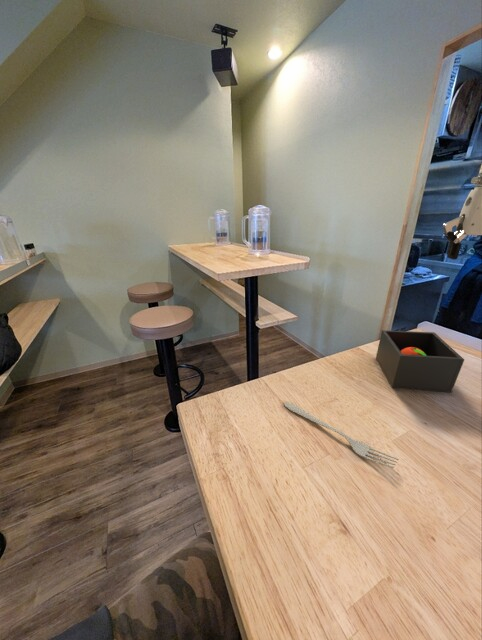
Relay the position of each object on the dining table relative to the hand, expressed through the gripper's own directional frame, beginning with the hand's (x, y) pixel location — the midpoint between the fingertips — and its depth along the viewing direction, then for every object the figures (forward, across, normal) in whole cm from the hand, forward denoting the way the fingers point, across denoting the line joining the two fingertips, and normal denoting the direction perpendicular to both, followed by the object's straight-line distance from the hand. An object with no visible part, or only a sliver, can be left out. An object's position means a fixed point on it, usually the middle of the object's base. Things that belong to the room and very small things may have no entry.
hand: (472, 258), depth 64 cm
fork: (+30, -37, -32) cm, 57 cm away
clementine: (+29, -12, -9) cm, 33 cm away
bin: (+30, -12, -9) cm, 33 cm away
